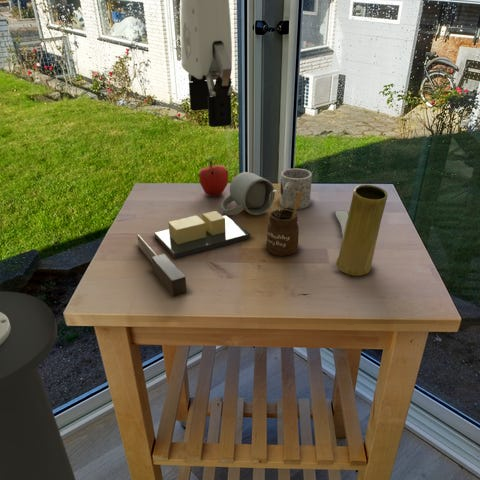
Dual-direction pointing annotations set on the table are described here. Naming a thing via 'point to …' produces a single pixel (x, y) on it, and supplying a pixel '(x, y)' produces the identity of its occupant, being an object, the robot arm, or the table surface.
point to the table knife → (164, 269)
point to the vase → (362, 230)
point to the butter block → (187, 229)
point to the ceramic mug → (249, 194)
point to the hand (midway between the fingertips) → (210, 117)
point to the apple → (213, 178)
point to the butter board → (203, 240)
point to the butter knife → (342, 219)
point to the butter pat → (214, 222)
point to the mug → (295, 187)
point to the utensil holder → (283, 229)
